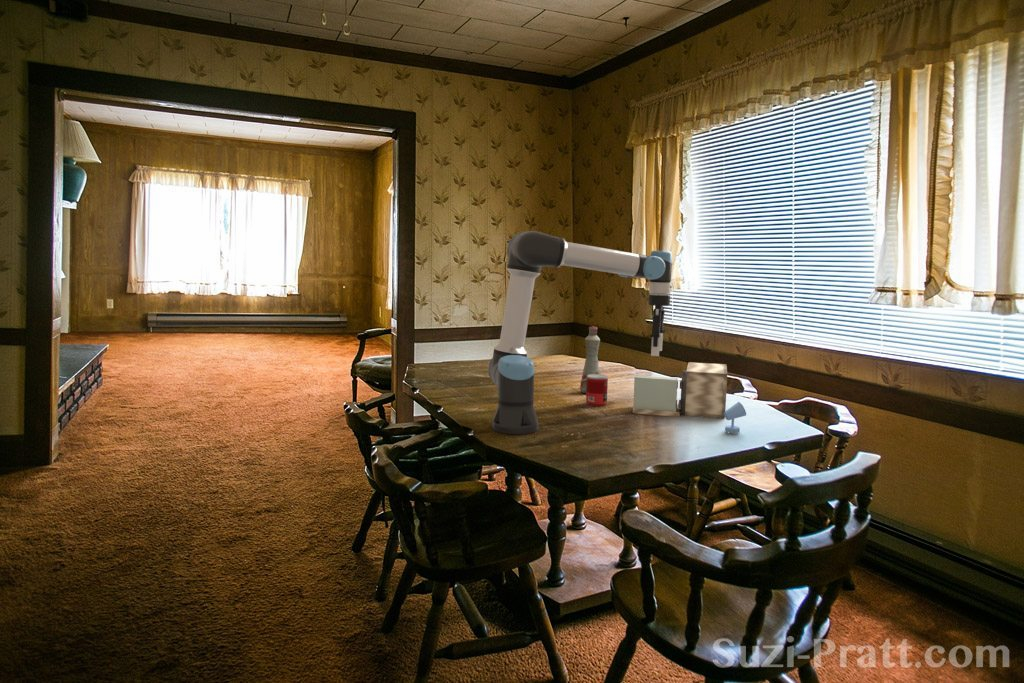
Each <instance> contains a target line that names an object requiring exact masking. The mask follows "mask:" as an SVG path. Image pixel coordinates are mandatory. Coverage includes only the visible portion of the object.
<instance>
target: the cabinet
mask: <svg viewBox="0 0 1024 683" xmlns="http://www.w3.org/2000/svg"><path fill="white" fill-rule="evenodd" d="M727 385H728V366H727V364H726V363H710V362H693V361H690V362H689V361H688V364H687V367H686V370H682V371H681V380H679V389H680V399H679V400H678V407H677V408H676V412H671V411H658V410H646V409H633V408H632V414H640V415H650V416H652V415H653V416H662V417H663V416H664V417H665V416H666V417H677V418H679V417H681V416H689V417H699V416H703V417H702V418H712V417H719V418H718V419H724V418H725V416H724V412H725V411H726V408H727V405H726V404H727V390H728V389H727V387H728V386H727ZM725 419H726V418H725Z"/></svg>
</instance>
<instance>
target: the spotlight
mask: <svg viewBox="0 0 1024 683" xmlns="http://www.w3.org/2000/svg"><path fill="white" fill-rule="evenodd" d="M724 416H725V419H726V420H727V421H731V425H725V426H724V432H725V431H726V432H729V433H728V434H730V433H738V432H739V433H740V431H741V430H740V429H741V428H740V426H737V425H735V419H738V418H742V417H745V416H747V412H746V409H745V407H744V405H743V404H742V403H741V402H740V401H738V402H736V403H735V404H733V405H732V406H731V407H729V408H728V409H727V410H726V409H725V412H724ZM726 432H725V433H726Z"/></svg>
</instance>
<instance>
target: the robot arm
mask: <svg viewBox="0 0 1024 683" xmlns="http://www.w3.org/2000/svg"><path fill="white" fill-rule="evenodd" d="M506 248H507V250H506V252H507V253H506V254H507V266H506V270H507V272H508V273H509V282H508V286H507V294H506V299H505V305H504V312H503V319H502V324H501V329H500V330H501V331H500V337H499V343H498V344H497V345H495V346H494V347H493V353H492V354H493V355H492V357H491V359H490V361H489V363H488V371H487V372H488V375H489V378H490V380H491V381H492V382H493V384H494V385H495V386H496V387H497V407H496V410H495V413H494V416H493V419H492V421H491V422H492V423H491V425H492V430H493V431H495V432H496V433H497V432H498V433H501V434H508V435H527V434H531V433H535V432H537V431H538V430H539V418H538V415H537V413H536V410H535V406H534V399H535V397H534V394H535V393H534V392H535V391H534V390H535V388H534V387H535V372H536V371H535V370H536V369H535V363H534V360H533V359H531V358H530V357H528V352H527V350H526V348H525V342H526V337H527V331H528V325H529V320H530V319H529V318H530V314H531V313H530V312H531V311H530V310H531V306H532V301H533V294H534V288H535V281H536V279H537V278H538V277H539V276H540V275H541V273H542V272H541V271H542V267H550V268H551V267H552V268H560V267H561V266H566V267H572V268H579V269H585V270H590V271H597V272H605V273H609V274H617V275H618V276H619V277H622V278H627V279H628V278H637V279H638V278H639V279H647V280H648V279H649V281H648V293H649V295H648V302H647V303H648V305H649V306H654V308H653V310H652V326H651V327H652V328H651V334H649V337H650V338H651V349H650V356H651V357H660V352H662V351H663V338H664V336H663V335H664V334H665V332H666V330H665V329H664V319H665V308H664V307H667V306H670V304H671V296H670V295H669V294H671V289H672V288H673V285H672V284H671V283H672V270H673V268H672V267H673V254H672V252H671V250H670V251H669V250H652V251H650V255H645V254H641V253H639V254H638V253H634V252H629V251H622V250H617V249H611V248H605V247H599V246H594V245H589V244H588V245H587V244H581V243H576V242H575V243H574V242H569V241H566V239H565V238H563V237H558V236H554V235H551V234H547V233H544V232H541V231H537V230H536V231H535V230H530V231H529V230H528V231H521V232H518V233H516V234H515V235H514V236H513V237H512V238H511V239H510V240H509V242H508V245H507V247H506Z"/></svg>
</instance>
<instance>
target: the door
mask: <svg viewBox="0 0 1024 683" xmlns="http://www.w3.org/2000/svg"><path fill="white" fill-rule="evenodd" d="M633 387H634V388H633V404H632V405H633V407H632V410H633V409H646V410H658V411H671V412H676V408H678V398H677V396H678V388H679V380H678V377H668V376H667V377H664V376H663V377H662V376H648V375H635V376H634V383H633Z"/></svg>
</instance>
